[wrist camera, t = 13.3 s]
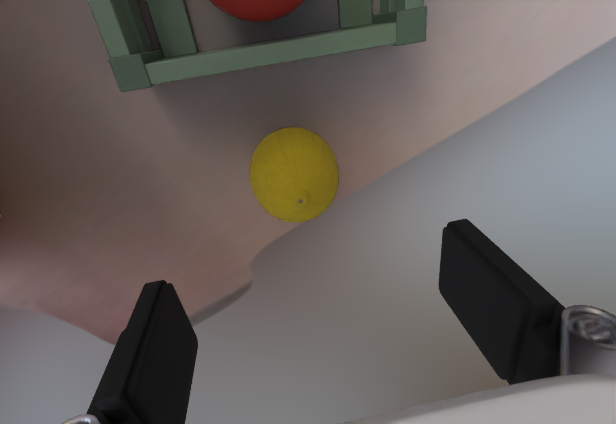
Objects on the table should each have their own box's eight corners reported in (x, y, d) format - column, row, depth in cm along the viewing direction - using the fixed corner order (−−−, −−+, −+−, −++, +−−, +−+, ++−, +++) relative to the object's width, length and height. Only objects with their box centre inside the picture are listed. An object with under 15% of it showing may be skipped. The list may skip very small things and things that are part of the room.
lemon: (312, 103, 23) (336, 134, 16) (334, 173, 26) (362, 226, 19) (238, 131, 23) (229, 173, 16) (267, 197, 26) (271, 258, 19)
